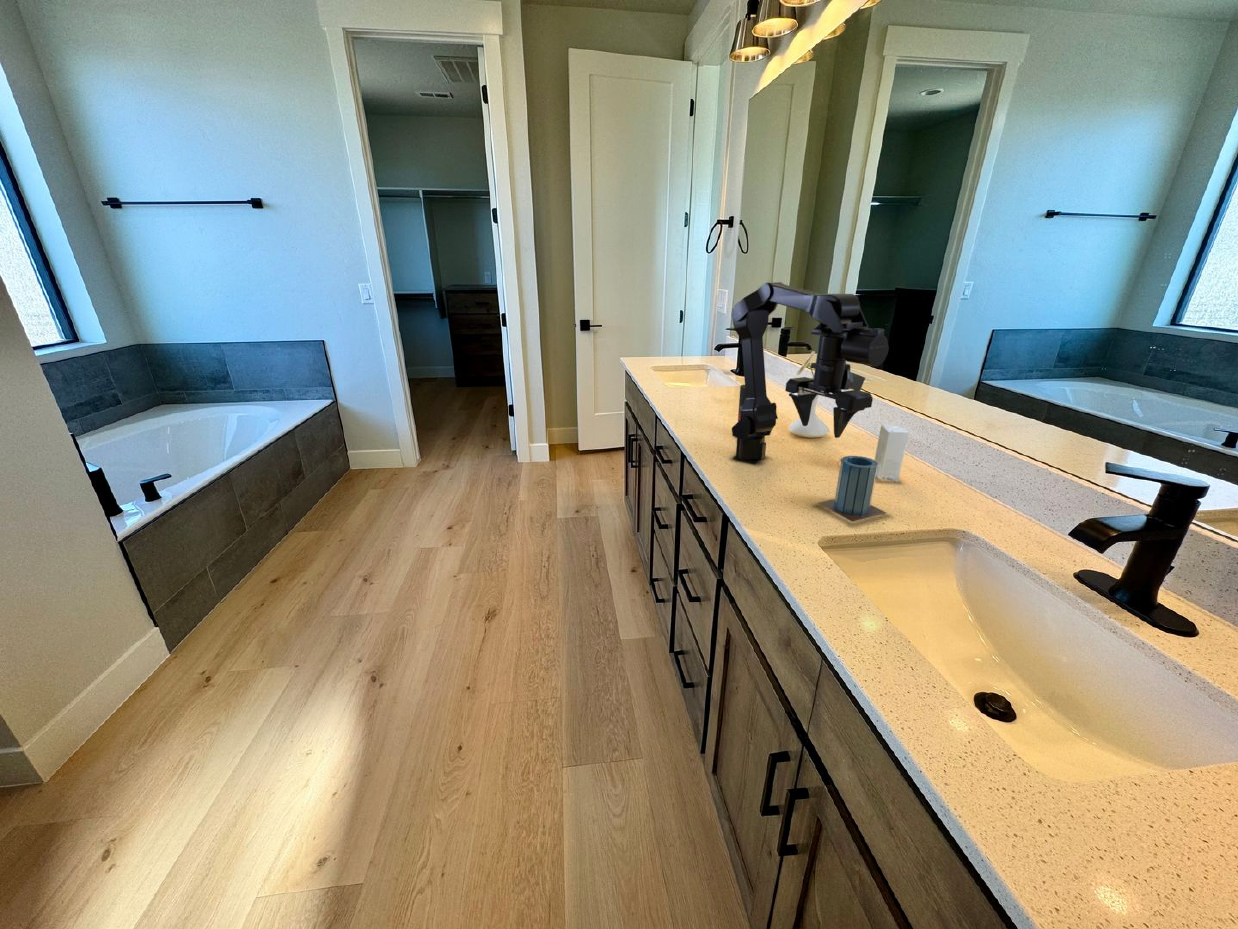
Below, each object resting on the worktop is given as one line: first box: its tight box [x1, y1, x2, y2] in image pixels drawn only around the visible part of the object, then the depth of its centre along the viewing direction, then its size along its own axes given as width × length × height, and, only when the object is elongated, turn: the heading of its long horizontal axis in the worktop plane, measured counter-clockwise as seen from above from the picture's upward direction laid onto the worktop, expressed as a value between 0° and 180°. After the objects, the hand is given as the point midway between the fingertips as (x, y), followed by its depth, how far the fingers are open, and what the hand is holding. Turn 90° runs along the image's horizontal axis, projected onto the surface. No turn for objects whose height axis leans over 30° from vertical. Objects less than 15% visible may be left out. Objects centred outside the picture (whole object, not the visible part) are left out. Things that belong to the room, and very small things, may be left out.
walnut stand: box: [817, 498, 887, 523], centre depth 98 cm, size 9×9×6 cm
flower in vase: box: [788, 350, 830, 438], centre depth 141 cm, size 13×11×25 cm
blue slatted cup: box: [834, 455, 878, 515], centre depth 97 cm, size 6×6×10 cm
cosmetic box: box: [874, 424, 909, 483], centre depth 113 cm, size 6×4×12 cm
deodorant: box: [737, 384, 746, 422], centre depth 143 cm, size 6×6×15 cm
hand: (820, 431), depth 106 cm, fingers open, 9 cm apart
